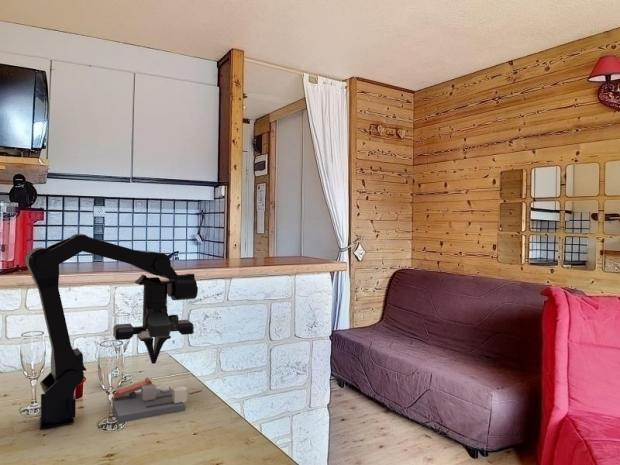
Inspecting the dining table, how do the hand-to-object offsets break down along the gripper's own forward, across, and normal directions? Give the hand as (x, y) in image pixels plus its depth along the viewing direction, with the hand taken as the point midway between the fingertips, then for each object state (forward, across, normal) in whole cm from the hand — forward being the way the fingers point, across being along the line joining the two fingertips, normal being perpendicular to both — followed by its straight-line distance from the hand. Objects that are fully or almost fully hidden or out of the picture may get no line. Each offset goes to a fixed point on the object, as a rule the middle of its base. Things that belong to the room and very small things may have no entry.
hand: (153, 363), depth 117 cm
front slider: (+8, +5, -7) cm, 12 cm away
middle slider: (+8, -1, -2) cm, 8 cm away
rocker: (+6, -4, +2) cm, 8 cm away
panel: (+10, -2, -2) cm, 10 cm away
